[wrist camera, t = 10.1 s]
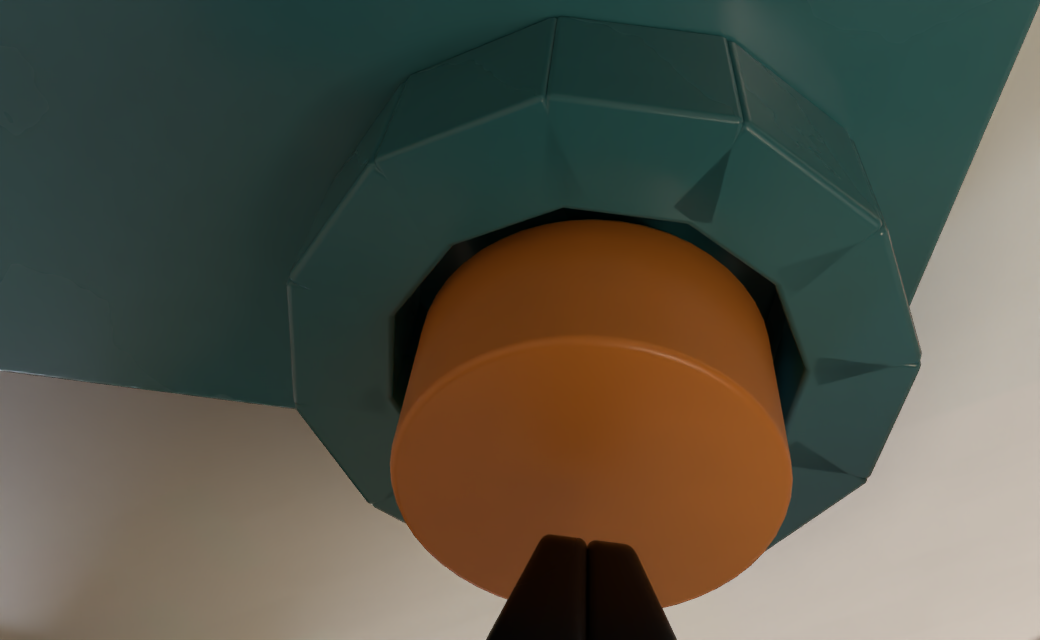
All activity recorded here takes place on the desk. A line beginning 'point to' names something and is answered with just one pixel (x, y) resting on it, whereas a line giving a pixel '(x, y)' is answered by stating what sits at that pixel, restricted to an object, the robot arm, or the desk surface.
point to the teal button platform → (475, 186)
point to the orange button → (594, 410)
